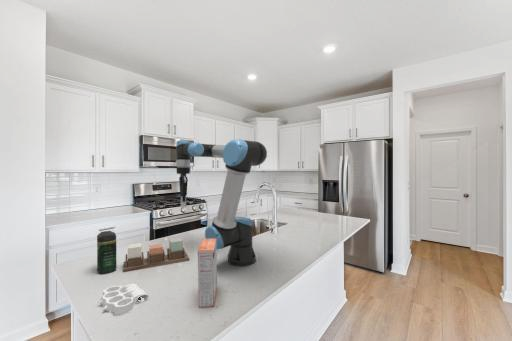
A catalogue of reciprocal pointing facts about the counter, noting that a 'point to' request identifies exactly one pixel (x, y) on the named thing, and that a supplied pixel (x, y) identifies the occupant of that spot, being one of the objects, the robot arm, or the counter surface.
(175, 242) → the sage key
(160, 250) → the terracotta key
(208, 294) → the cracker box
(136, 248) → the cream key
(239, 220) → the robot arm
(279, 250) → the counter surface
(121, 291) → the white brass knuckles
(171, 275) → the counter surface
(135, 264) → the board
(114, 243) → the coffee jar
